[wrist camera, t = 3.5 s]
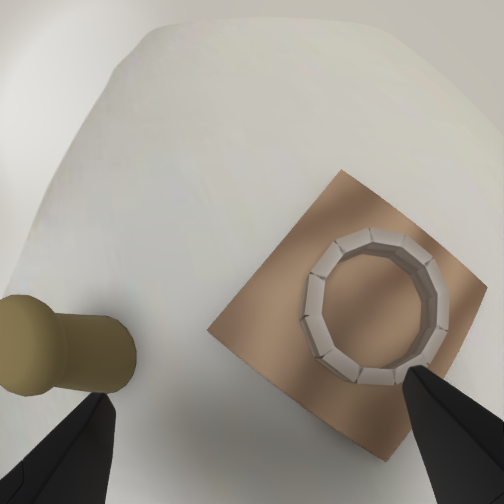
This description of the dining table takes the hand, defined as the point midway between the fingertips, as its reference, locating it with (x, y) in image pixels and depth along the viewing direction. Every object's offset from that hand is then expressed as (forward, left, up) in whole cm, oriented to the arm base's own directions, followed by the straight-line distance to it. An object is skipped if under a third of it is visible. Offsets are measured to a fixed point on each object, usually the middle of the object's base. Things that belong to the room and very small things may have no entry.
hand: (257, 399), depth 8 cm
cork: (+10, +7, -13) cm, 18 cm away
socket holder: (-3, -8, -13) cm, 16 cm away
